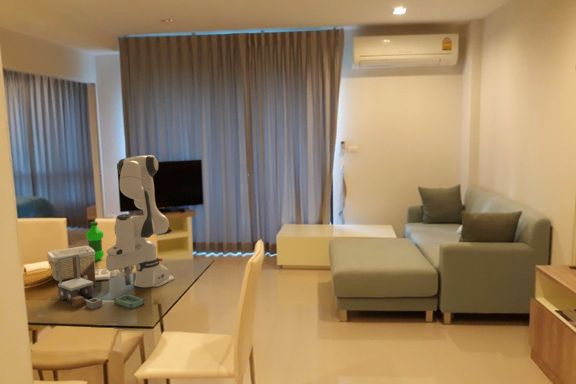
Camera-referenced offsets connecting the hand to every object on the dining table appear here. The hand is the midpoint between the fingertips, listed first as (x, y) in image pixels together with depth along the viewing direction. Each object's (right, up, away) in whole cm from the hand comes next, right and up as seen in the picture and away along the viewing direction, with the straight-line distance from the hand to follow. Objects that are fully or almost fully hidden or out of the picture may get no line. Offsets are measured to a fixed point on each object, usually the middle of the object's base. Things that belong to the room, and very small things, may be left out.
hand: (126, 275), depth 236 cm
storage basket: (-49, -9, +49) cm, 70 cm away
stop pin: (0, -5, 0) cm, 5 cm away
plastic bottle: (-47, -4, +80) cm, 93 cm away
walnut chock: (-24, -15, +1) cm, 29 cm away
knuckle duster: (-31, -10, +45) cm, 55 cm away
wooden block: (-32, -12, +27) cm, 44 cm away
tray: (0, -15, +4) cm, 15 cm away
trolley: (-24, -14, +7) cm, 29 cm away
